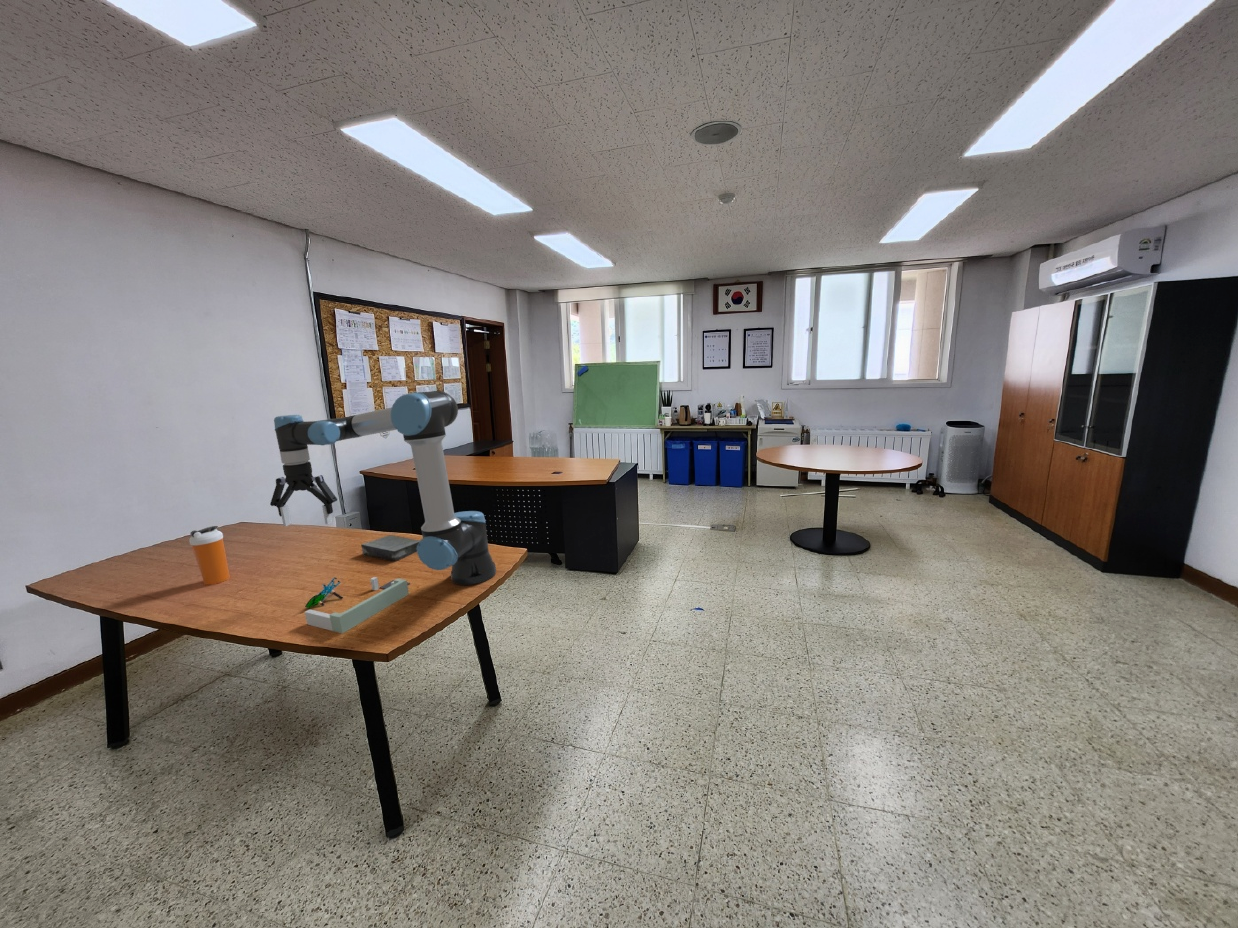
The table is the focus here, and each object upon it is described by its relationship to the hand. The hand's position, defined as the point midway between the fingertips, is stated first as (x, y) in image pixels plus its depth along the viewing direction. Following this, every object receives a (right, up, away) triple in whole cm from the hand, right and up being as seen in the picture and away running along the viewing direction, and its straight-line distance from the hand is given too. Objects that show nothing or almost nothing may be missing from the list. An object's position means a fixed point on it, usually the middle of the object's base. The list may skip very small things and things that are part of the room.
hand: (308, 524), depth 148 cm
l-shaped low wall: (+23, -24, -11) cm, 36 cm away
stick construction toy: (+11, -24, -6) cm, 28 cm away
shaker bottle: (-43, -23, +13) cm, 50 cm away
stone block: (+12, -16, +32) cm, 38 cm away
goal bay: (+30, -25, -14) cm, 41 cm away
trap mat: (+28, -21, +2) cm, 36 cm away
